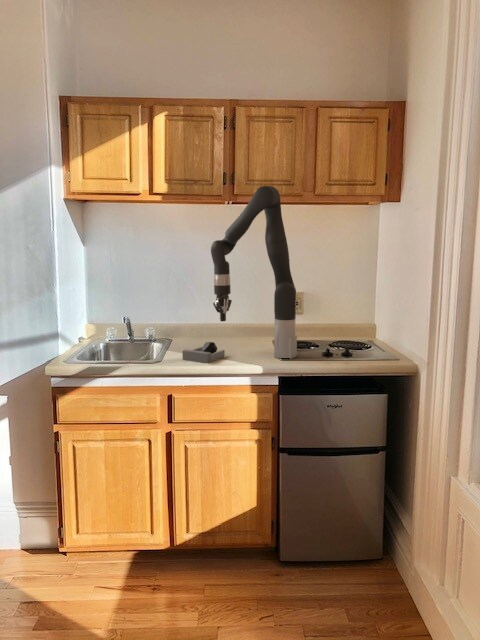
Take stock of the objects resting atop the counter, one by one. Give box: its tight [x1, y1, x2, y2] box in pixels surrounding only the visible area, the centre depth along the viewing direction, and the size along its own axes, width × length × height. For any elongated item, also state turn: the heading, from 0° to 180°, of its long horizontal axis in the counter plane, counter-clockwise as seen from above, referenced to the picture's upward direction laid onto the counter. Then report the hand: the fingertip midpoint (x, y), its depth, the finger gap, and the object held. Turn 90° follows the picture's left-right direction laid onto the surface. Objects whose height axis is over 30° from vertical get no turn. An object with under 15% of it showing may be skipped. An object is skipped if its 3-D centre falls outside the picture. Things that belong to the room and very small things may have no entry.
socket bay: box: [181, 346, 226, 364], centre depth 225 cm, size 13×14×4 cm
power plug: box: [201, 341, 218, 354], centre depth 228 cm, size 6×8×12 cm
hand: (223, 321), depth 237 cm, fingers closed
